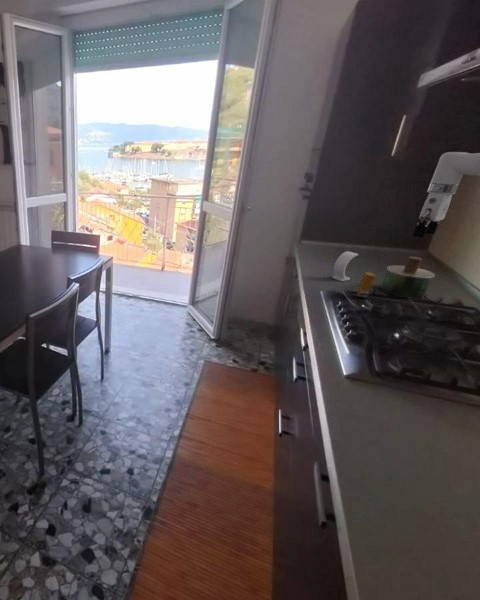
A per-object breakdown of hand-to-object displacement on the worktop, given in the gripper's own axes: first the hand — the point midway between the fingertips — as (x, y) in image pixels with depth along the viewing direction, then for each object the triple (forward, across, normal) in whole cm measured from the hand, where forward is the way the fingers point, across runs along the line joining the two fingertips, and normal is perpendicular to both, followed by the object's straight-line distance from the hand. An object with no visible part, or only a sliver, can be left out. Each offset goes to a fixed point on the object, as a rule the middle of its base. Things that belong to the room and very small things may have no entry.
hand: (423, 235), depth 136 cm
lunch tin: (+24, 0, 0) cm, 24 cm away
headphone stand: (+24, -5, +20) cm, 32 cm away
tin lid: (+15, 0, 0) cm, 15 cm away
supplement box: (+24, -20, +6) cm, 32 cm away
